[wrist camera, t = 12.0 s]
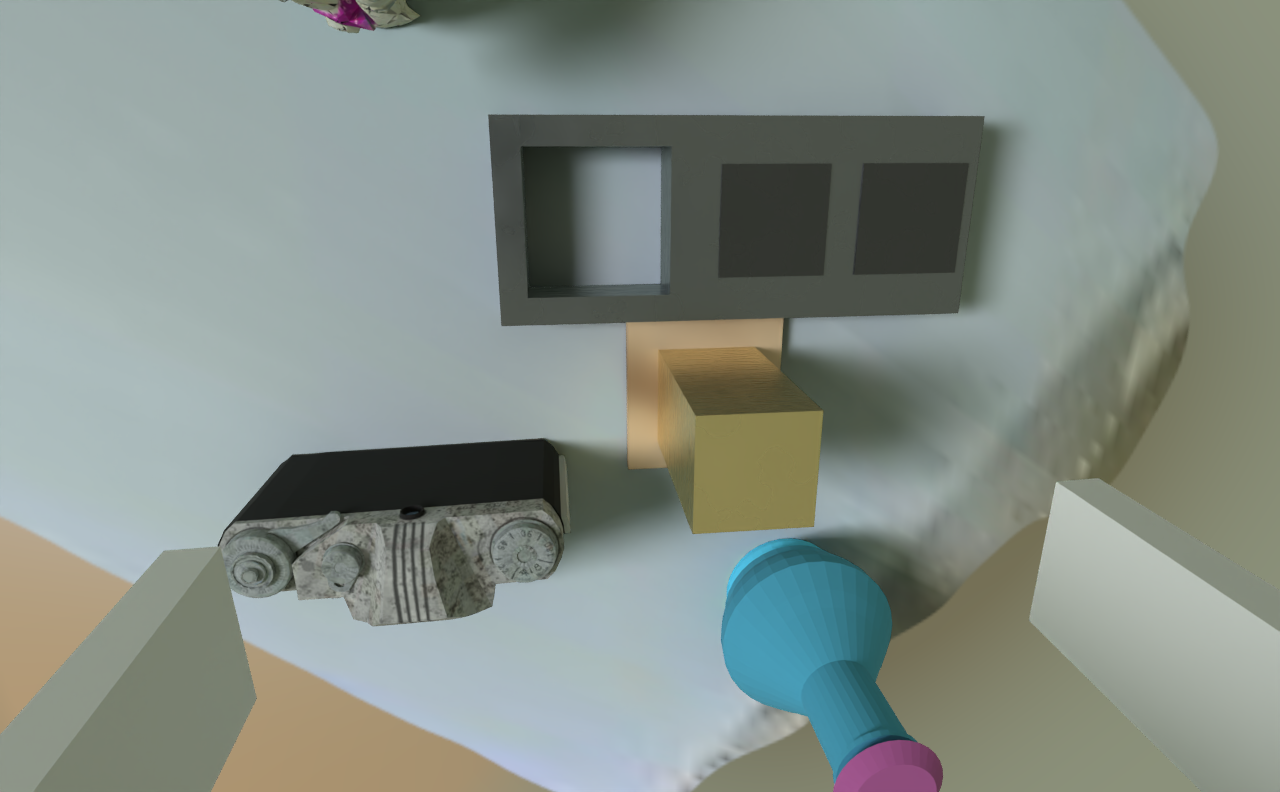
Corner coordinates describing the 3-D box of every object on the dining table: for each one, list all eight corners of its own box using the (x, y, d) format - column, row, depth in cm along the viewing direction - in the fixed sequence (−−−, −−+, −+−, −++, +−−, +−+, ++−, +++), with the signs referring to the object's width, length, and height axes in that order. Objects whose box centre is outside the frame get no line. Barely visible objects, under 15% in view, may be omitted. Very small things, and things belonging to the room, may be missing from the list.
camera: (294, 567, 39) (213, 698, 30) (271, 450, 37) (176, 551, 28) (571, 545, 41) (578, 662, 31) (564, 431, 39) (569, 521, 29)
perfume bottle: (710, 665, 44) (785, 904, 30) (699, 530, 41) (778, 725, 27) (856, 641, 45) (998, 864, 31) (857, 507, 42) (1013, 686, 28)
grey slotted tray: (493, 117, 33) (488, 114, 31) (949, 119, 36) (985, 116, 33) (505, 312, 36) (501, 326, 33) (927, 301, 39) (958, 313, 36)
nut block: (658, 349, 37) (695, 415, 28) (754, 346, 38) (823, 410, 28) (657, 441, 39) (692, 533, 29) (749, 437, 39) (813, 526, 30)
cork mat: (626, 319, 37) (627, 321, 37) (779, 315, 38) (783, 317, 37) (627, 465, 40) (628, 469, 39) (771, 457, 40) (774, 462, 40)
